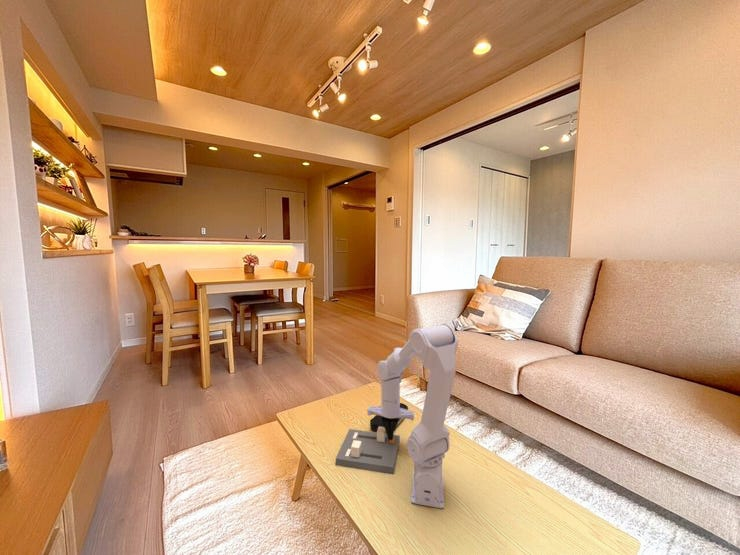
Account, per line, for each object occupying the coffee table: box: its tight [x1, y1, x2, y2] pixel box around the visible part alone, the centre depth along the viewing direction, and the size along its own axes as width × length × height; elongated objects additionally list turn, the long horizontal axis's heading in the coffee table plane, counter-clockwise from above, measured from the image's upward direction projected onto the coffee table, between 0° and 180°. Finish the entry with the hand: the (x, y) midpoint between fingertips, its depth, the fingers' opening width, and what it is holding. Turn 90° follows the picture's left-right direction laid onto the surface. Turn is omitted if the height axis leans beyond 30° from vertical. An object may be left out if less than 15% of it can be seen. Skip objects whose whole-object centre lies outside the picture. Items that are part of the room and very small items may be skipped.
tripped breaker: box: [376, 427, 387, 442], centre depth 94 cm, size 3×2×3 cm
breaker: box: [351, 440, 362, 457], centre depth 88 cm, size 3×2×3 cm
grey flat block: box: [335, 428, 401, 475], centre depth 91 cm, size 14×17×2 cm
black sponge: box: [369, 402, 409, 434], centre depth 107 cm, size 16×8×4 cm, turn 148°
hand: (390, 437), depth 94 cm, fingers closed
